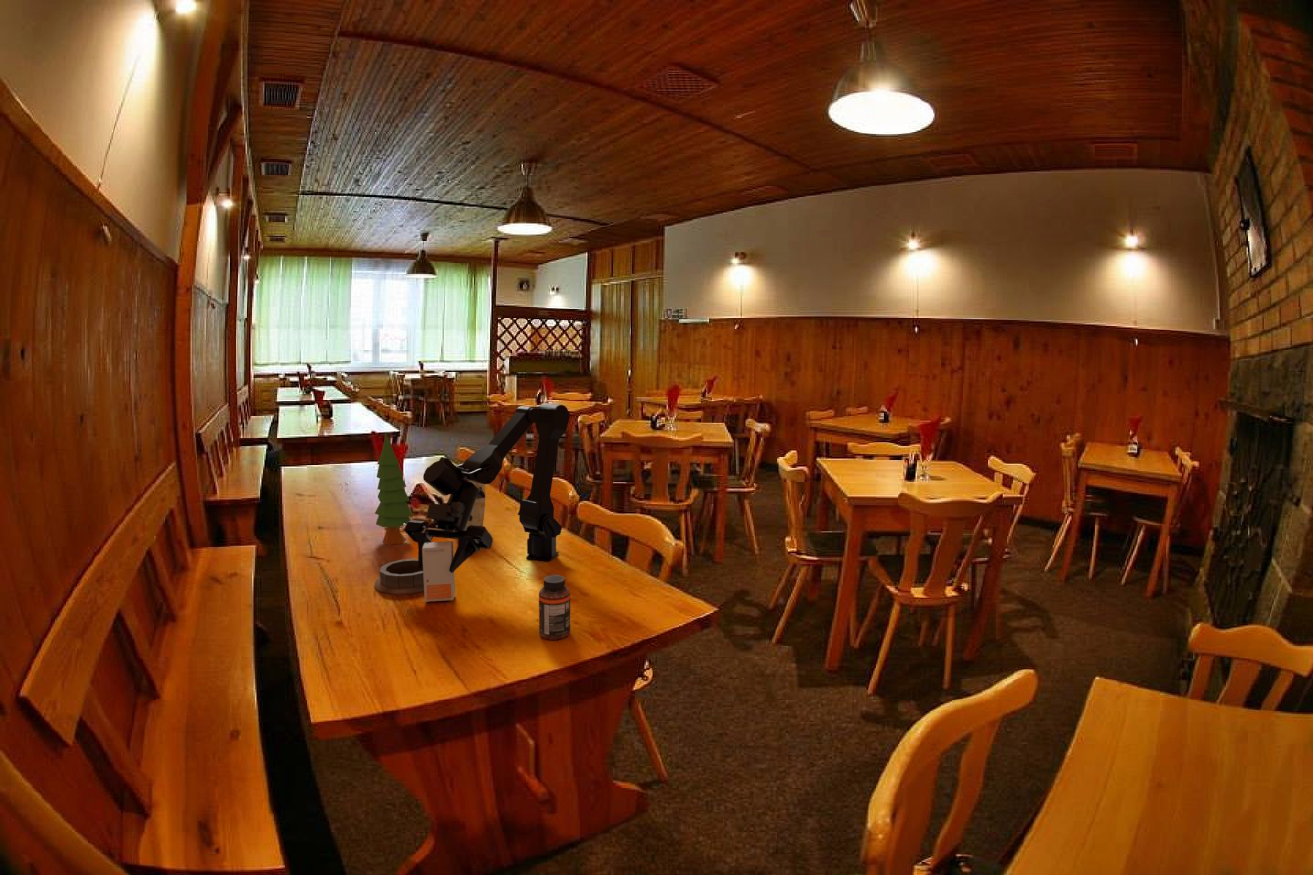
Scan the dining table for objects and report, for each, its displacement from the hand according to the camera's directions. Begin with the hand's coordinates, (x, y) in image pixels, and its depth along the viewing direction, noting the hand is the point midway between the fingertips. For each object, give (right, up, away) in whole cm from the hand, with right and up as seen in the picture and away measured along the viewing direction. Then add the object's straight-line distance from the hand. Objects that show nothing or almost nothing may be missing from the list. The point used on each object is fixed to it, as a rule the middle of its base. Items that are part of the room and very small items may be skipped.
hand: (435, 570), depth 147 cm
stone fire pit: (-10, -5, +12) cm, 16 cm away
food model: (-6, +1, +52) cm, 52 cm away
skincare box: (0, -7, +2) cm, 7 cm away
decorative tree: (-24, 0, +43) cm, 49 cm away
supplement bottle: (+27, -10, -13) cm, 32 cm away
